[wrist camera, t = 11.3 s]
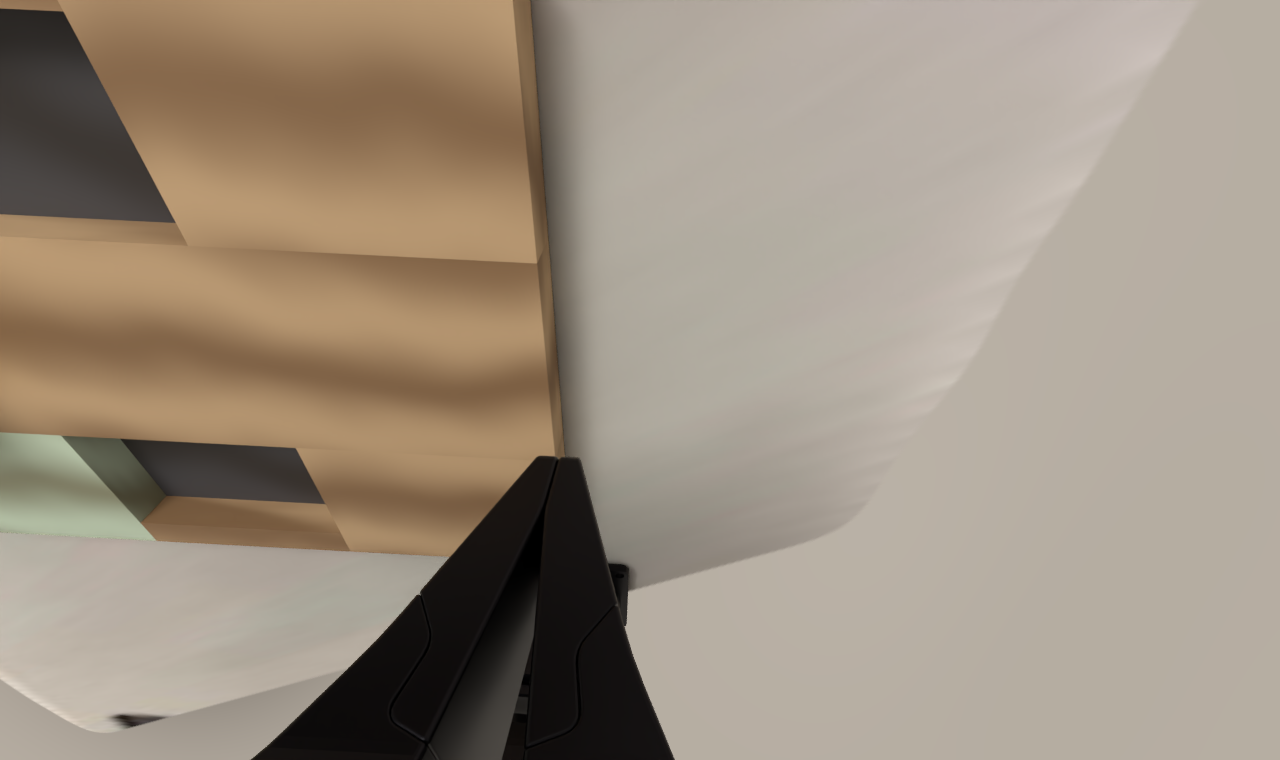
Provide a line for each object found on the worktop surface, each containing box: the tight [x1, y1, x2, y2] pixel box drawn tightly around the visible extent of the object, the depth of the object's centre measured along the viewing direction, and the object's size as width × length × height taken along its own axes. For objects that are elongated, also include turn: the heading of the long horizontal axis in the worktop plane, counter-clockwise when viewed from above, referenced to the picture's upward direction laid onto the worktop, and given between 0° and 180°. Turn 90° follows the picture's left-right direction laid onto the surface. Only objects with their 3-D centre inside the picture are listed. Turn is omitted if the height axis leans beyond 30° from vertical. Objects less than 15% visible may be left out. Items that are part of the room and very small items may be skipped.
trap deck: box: [0, 0, 565, 557], centre depth 20 cm, size 24×32×2 cm
